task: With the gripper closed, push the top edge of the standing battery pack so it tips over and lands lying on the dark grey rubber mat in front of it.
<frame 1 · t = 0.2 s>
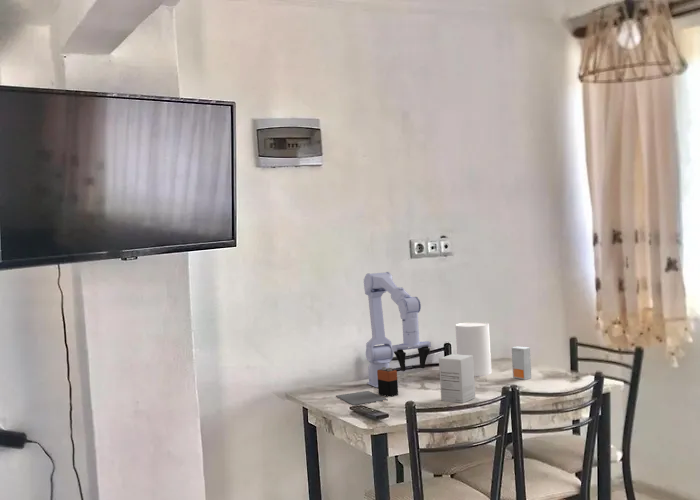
hand: (412, 369, 258), 10 cm above the table, tool pointing down, fingers open, 7 cm apart
skincare box: (522, 378, 281), on the table
mat: (361, 398, 261), on the table
battery: (388, 395, 265), on the table
canister: (474, 373, 296), on the table
supplement box: (458, 399, 252), on the table
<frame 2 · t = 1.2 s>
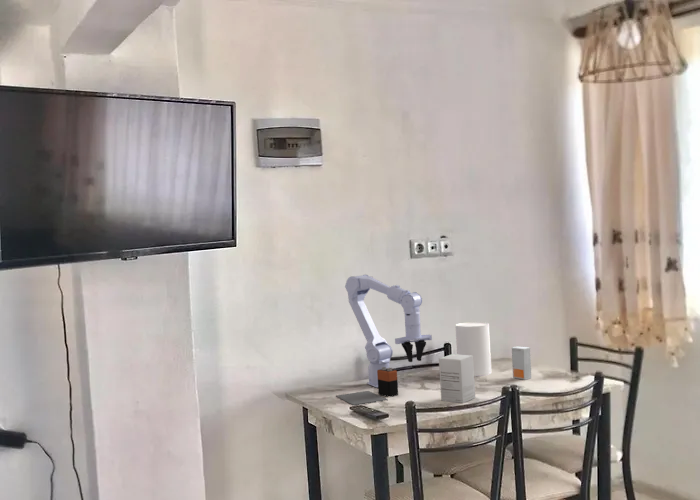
hand: (414, 361, 272), 10 cm above the table, tool pointing down, fingers open, 3 cm apart
nothing on the table moved.
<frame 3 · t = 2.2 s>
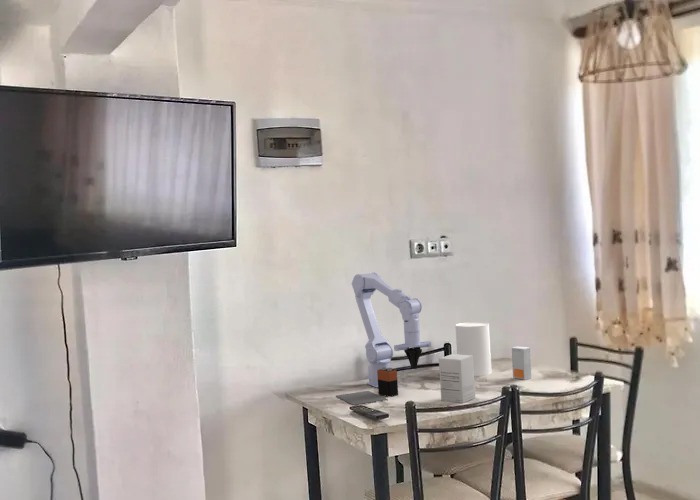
hand: (414, 368, 269), 8 cm above the table, tool pointing down, fingers closed
nothing on the table moved.
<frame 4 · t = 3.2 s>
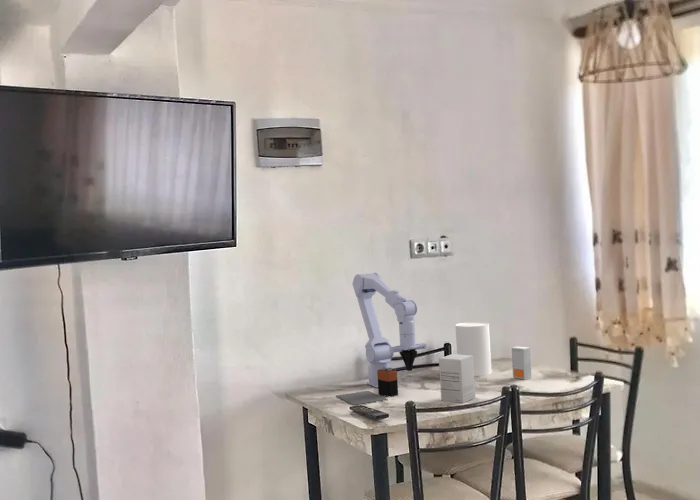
hand: (409, 370, 268), 8 cm above the table, tool pointing down, fingers closed
nothing on the table moved.
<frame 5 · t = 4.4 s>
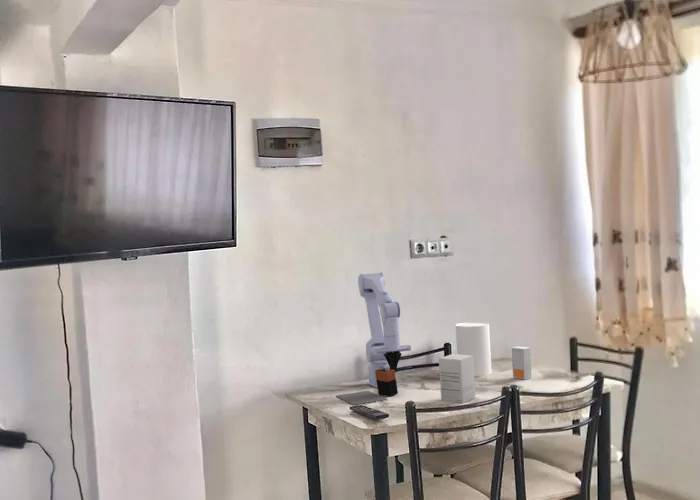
hand: (393, 372, 266), 8 cm above the table, tool pointing down, fingers closed
battery: (388, 394, 265), on the table, touching gripper
everything else where it was.
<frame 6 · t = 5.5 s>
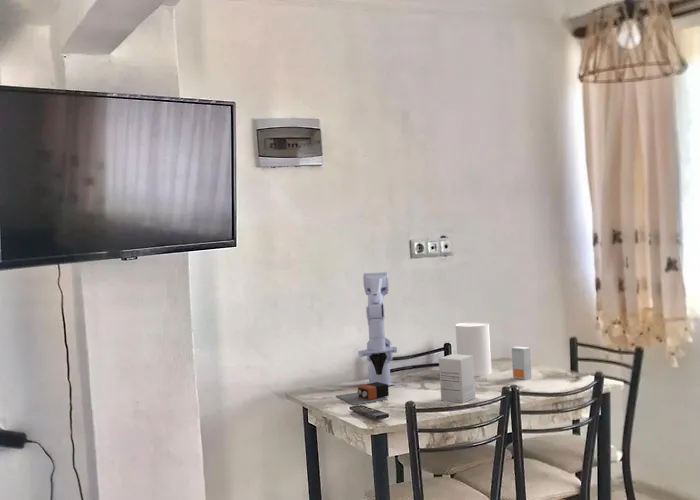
hand: (379, 374, 263), 8 cm above the table, tool pointing down, fingers closed
battery: (383, 388, 264), point 3 cm above the table, touching mat
everything else where it was.
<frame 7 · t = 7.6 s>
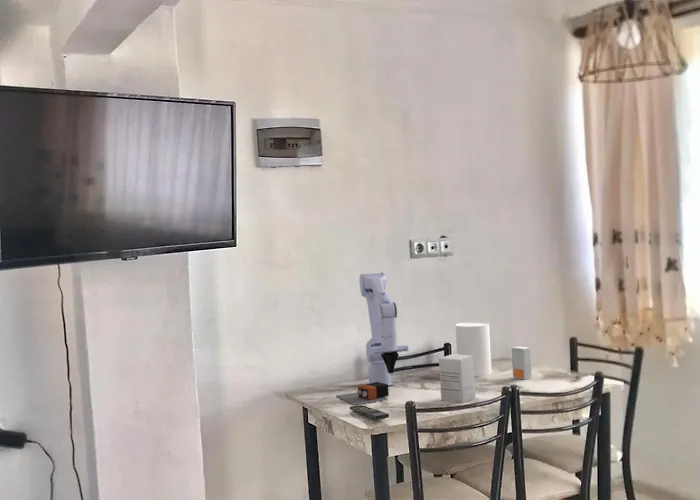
hand: (390, 372, 265), 8 cm above the table, tool pointing down, fingers closed
nothing on the table moved.
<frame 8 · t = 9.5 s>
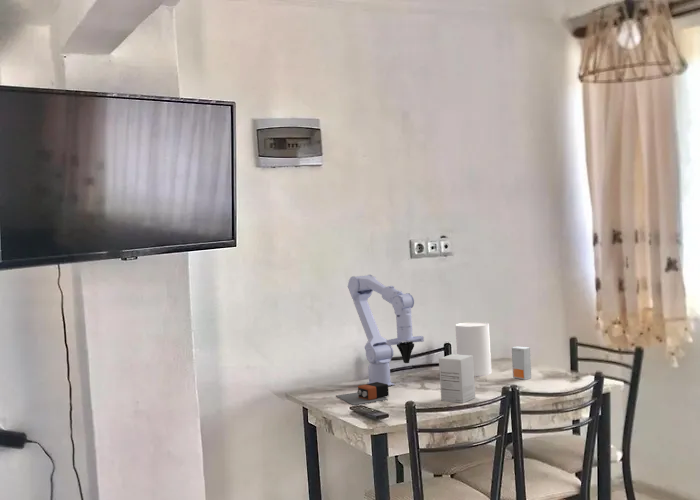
hand: (406, 362, 270), 10 cm above the table, tool pointing down, fingers closed
nothing on the table moved.
at the end: battery tilted 90°; battery inside the target area (7.5 cm from its centre), point 2.6 cm above the table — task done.
